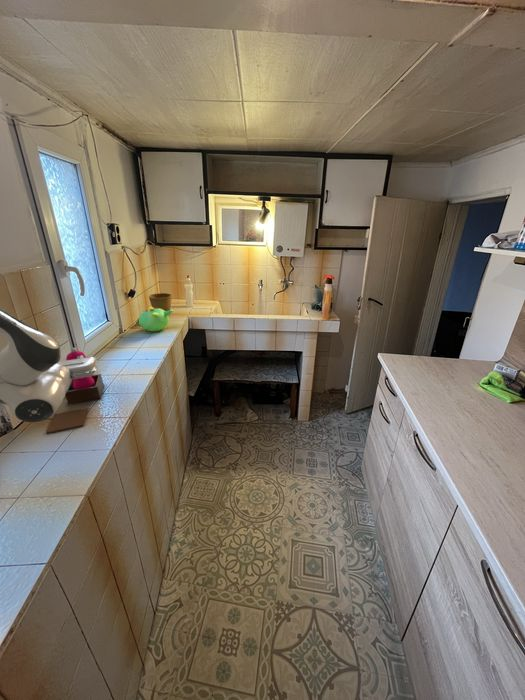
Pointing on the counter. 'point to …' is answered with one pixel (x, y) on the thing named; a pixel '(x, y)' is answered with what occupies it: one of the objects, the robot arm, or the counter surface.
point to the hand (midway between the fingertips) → (64, 359)
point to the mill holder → (85, 392)
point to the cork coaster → (68, 420)
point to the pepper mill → (80, 382)
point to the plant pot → (161, 301)
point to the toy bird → (154, 319)
